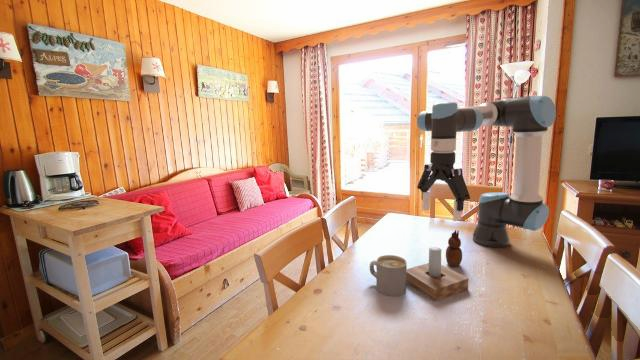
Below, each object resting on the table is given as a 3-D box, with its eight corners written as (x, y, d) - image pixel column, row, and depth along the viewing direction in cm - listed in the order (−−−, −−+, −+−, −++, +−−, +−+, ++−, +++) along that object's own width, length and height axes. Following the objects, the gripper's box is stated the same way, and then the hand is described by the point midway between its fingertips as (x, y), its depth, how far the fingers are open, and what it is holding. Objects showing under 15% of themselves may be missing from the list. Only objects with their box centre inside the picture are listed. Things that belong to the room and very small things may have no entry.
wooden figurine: (463, 269, 120) (465, 231, 117) (447, 268, 121) (449, 231, 118) (459, 261, 126) (461, 226, 123) (444, 260, 127) (445, 225, 125)
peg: (434, 277, 111) (435, 246, 109) (443, 282, 108) (444, 249, 106) (425, 280, 110) (426, 248, 108) (434, 285, 106) (435, 252, 104)
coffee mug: (412, 289, 106) (412, 262, 105) (392, 299, 101) (392, 270, 99) (382, 274, 117) (383, 249, 115) (363, 283, 111) (363, 256, 110)
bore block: (434, 271, 119) (434, 261, 118) (467, 289, 105) (468, 278, 105) (403, 280, 112) (403, 270, 112) (434, 301, 99) (435, 289, 98)
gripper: (407, 149, 110) (406, 207, 114) (467, 155, 88) (463, 227, 92) (423, 148, 113) (422, 204, 117) (485, 153, 91) (481, 223, 95)
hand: (440, 214), depth 105 cm, fingers open, 13 cm apart
